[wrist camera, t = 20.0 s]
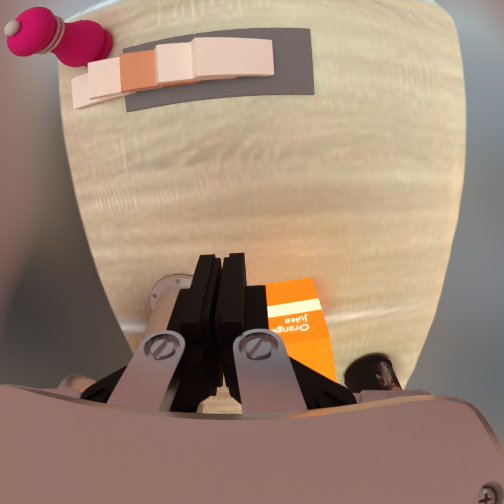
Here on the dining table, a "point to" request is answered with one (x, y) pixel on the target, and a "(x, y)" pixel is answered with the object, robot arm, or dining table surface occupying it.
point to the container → (372, 375)
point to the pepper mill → (57, 37)
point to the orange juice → (301, 324)
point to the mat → (282, 82)
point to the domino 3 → (140, 72)
